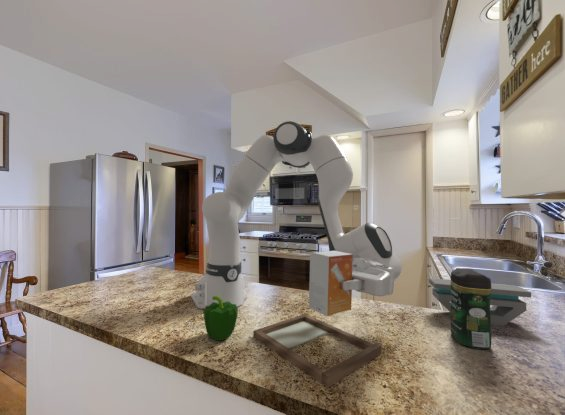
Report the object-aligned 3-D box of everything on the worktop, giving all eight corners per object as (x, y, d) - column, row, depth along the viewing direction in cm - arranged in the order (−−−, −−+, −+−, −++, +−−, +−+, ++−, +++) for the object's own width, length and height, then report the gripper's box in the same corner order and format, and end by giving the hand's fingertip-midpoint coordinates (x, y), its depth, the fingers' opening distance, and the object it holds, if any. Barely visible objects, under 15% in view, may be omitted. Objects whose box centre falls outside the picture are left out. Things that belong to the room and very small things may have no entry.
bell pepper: (243, 336, 67) (244, 297, 67) (215, 347, 61) (216, 305, 62) (225, 326, 73) (226, 290, 73) (198, 335, 67) (199, 296, 68)
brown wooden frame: (253, 336, 67) (253, 328, 67) (305, 318, 79) (305, 312, 79) (327, 387, 48) (328, 376, 48) (381, 353, 60) (381, 345, 60)
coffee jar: (446, 331, 73) (446, 265, 74) (479, 335, 71) (479, 267, 71) (458, 347, 64) (459, 272, 64) (496, 353, 62) (497, 275, 62)
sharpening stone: (515, 319, 83) (515, 285, 83) (531, 329, 75) (531, 292, 76) (428, 309, 90) (428, 277, 91) (434, 317, 83) (434, 283, 83)
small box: (327, 317, 55) (328, 256, 56) (308, 308, 60) (309, 252, 61) (352, 309, 60) (353, 253, 60) (332, 301, 65) (333, 250, 65)
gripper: (331, 256, 77) (297, 261, 68) (399, 269, 61) (367, 277, 52) (331, 277, 76) (297, 285, 68) (399, 296, 61) (366, 309, 52)
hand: (328, 282), depth 60 cm, fingers closed on small box, 6 cm apart
